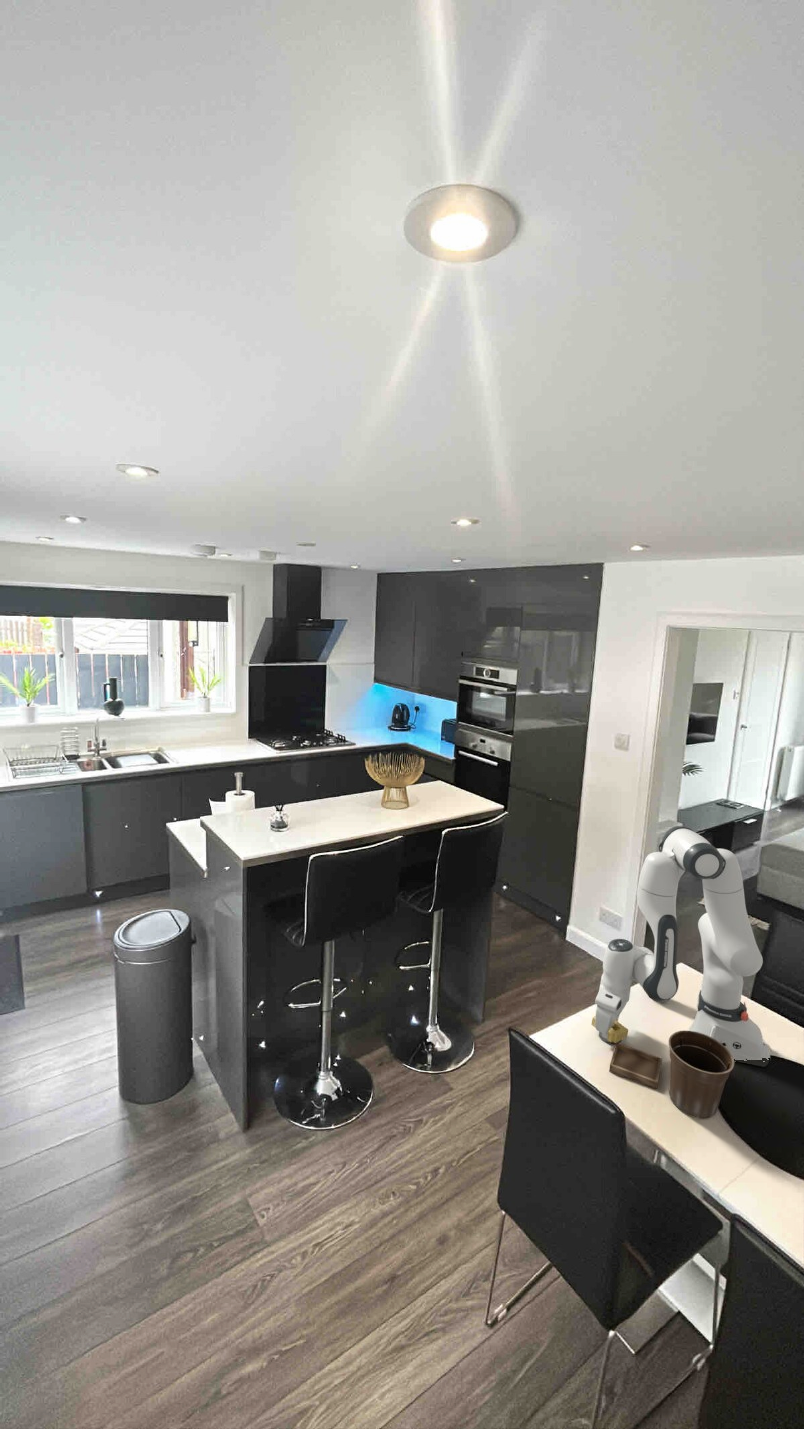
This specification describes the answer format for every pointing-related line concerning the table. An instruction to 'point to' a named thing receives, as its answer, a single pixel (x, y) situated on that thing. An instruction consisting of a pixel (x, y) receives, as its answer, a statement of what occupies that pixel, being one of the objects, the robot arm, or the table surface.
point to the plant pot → (697, 1072)
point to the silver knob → (606, 1039)
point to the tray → (636, 1065)
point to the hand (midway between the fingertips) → (609, 1030)
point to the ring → (615, 1032)
